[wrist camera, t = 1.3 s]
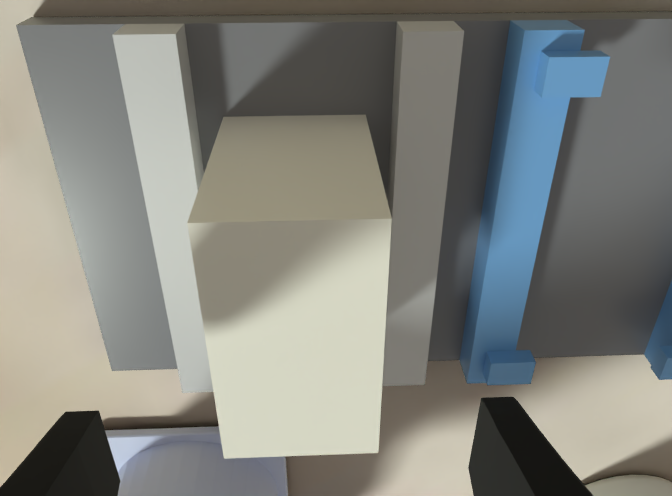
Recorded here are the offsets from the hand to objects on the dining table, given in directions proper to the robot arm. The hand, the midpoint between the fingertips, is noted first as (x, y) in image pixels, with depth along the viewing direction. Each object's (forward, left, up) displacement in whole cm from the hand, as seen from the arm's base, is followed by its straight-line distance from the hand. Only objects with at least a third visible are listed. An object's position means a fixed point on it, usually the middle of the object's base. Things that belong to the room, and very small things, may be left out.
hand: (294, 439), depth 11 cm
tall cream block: (0, 0, -8) cm, 8 cm away
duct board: (0, -5, -9) cm, 11 cm away
